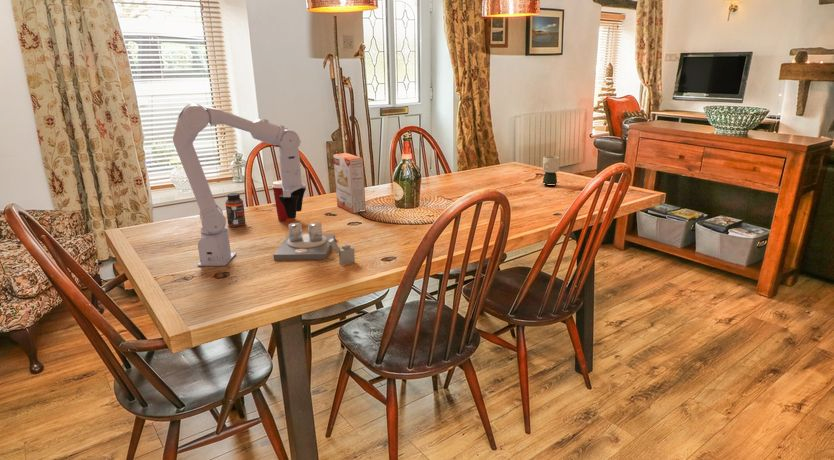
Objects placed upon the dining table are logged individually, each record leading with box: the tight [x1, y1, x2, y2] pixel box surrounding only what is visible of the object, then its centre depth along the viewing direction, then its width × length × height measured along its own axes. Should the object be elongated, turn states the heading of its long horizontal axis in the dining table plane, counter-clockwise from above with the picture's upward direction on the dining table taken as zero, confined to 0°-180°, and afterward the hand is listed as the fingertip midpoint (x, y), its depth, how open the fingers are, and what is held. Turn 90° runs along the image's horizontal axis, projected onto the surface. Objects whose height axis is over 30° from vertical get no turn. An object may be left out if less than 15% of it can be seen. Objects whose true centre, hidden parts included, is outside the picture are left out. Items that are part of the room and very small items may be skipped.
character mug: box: [542, 155, 560, 184], centre depth 231 cm, size 11×7×13 cm, turn 133°
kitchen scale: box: [272, 233, 336, 261], centre depth 159 cm, size 18×15×2 cm
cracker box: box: [333, 152, 367, 214], centre depth 199 cm, size 14×6×21 cm, turn 33°
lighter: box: [328, 239, 356, 266], centre depth 145 cm, size 7×2×8 cm, turn 124°
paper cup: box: [271, 179, 295, 223], centre depth 188 cm, size 8×8×14 cm
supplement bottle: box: [225, 192, 246, 228], centre depth 182 cm, size 6×6×11 cm
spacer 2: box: [307, 222, 323, 242], centre depth 159 cm, size 4×4×5 cm
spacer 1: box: [287, 222, 303, 242], centre depth 160 cm, size 4×4×5 cm
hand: (294, 214), depth 158 cm, fingers open, 7 cm apart
